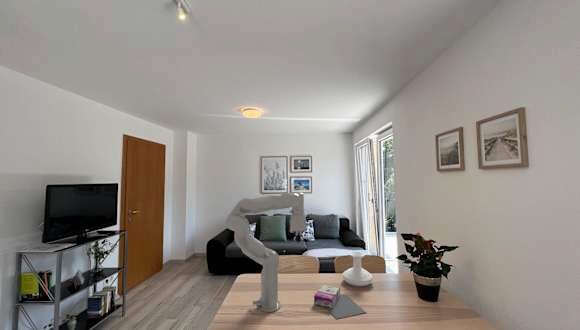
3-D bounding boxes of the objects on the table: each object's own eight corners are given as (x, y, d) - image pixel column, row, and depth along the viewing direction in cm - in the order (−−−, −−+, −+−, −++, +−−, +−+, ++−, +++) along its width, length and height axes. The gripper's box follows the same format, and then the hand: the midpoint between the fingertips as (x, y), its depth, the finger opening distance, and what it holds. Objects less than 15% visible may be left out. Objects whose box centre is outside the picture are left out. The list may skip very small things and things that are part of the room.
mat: (336, 319, 126) (336, 318, 126) (318, 298, 146) (318, 298, 146) (366, 313, 131) (366, 312, 131) (344, 294, 152) (344, 293, 152)
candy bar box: (332, 309, 134) (340, 295, 149) (332, 300, 135) (340, 287, 149) (313, 304, 139) (323, 292, 154) (313, 295, 140) (323, 284, 154)
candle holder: (340, 276, 179) (340, 249, 180) (368, 276, 178) (367, 250, 179) (345, 289, 159) (345, 259, 160) (376, 289, 158) (376, 259, 159)
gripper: (288, 213, 149) (288, 243, 148) (311, 212, 153) (311, 242, 152) (285, 211, 156) (285, 240, 155) (307, 210, 160) (307, 239, 159)
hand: (298, 241), depth 154 cm, fingers closed
